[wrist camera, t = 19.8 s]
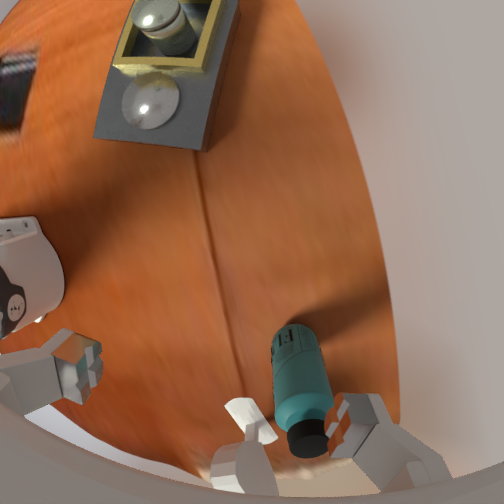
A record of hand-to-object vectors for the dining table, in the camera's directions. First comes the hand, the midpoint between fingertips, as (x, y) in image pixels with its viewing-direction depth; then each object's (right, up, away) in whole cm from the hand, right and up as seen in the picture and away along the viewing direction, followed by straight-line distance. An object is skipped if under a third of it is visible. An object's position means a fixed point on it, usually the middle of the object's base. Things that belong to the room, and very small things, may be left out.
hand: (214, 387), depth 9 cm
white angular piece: (+1, -25, +37) cm, 45 cm away
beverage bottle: (+7, -8, +32) cm, 34 cm away
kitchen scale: (-9, +27, +23) cm, 37 cm away
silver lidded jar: (-8, +31, +21) cm, 38 cm away
